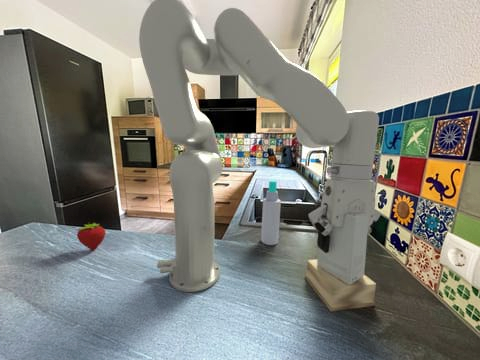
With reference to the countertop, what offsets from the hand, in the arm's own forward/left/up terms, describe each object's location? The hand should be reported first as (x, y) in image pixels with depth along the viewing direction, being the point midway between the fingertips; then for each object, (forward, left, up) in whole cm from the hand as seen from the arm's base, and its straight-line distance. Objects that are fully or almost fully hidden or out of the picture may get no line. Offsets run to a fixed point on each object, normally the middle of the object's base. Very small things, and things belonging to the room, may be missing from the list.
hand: (341, 248), depth 42 cm
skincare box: (0, 0, -6) cm, 6 cm away
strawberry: (-65, +26, -11) cm, 71 cm away
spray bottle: (-8, +25, -11) cm, 28 cm away
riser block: (0, 0, -11) cm, 11 cm away
